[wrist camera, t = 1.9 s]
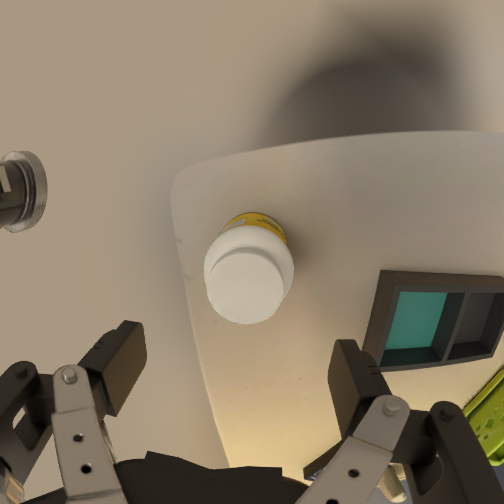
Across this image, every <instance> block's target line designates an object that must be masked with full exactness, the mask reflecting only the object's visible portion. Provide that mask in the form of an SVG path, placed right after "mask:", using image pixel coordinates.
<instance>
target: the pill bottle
mask: <svg viewBox="0 0 504 504" xmlns="http://www.w3.org/2000/svg"><path fill="white" fill-rule="evenodd" d="M203 271H204V279H205V282H206V285H207V295H208V298H209V301H210V303H211V305H212V306H213V308H214V309H215V310H216V312H217V313H219V314H220V315H221V316H222V317H224V318H225V319H227V320H229V321H231V322H234V323H239V324H255V323H259V322H261V321H264V320H266V319H267V318H269V317H270V316H272V315H273V314H274V313H275V312H276V310H277V309H278V308H279V306H280V305H281V302H282V300H283V299H284V297H285V296H286V295H287V293H288V292H289V290H290V287H291V285H292V282H293V277H294V264H293V259H292V256H291V253H290V250H289V247H288V243H287V240H286V237H285V234H284V232H283V230H282V228H281V227H280V225H279V224H278V223H277V222H276V221H275V220H273V219H272V218H270V217H269V216H267V215H264V214H261V213H254V212H252V213H244V214H241V215H239V216H236V217H235V218H233V219H232V220H231V221H229V222H228V223H227V224H226V226H225V227H224V228H223V230H222V231H221V232H220V234H219V235H218V236H217V237H216V239H215V240H214V241H213V243H212V244H211V246H210V247H209V249H208V251H207V253H206V256H205V260H204V268H203Z"/></svg>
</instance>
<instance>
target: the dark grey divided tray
mask: <svg viewBox="0 0 504 504" xmlns="http://www.w3.org/2000/svg"><path fill="white" fill-rule="evenodd" d="M503 330H504V278H503V277H501V276H488V275H466V274H445V273H425V272H406V271H388V270H380V275H379V280H378V285H377V290H376V295H375V299H374V304H373V308H372V312H371V316H370V320H369V324H368V328H367V332H366V336H365V340H364V344H363V347H362V351H366V352H368V353H369V354H370V355H371V356H372V357H373V358H374V359H375V361H376V363H377V365H378V367H379V369H380V371H381V372H391V371H403V370H413V369H422V368H431V367H438V366H445V365H452V364H458V363H464V362H470V361H476V360H481V359H486V358H491V357H493V355H494V352H495V350H496V348H497V345H498V343H499V340H500V338H501V336H502V333H503Z"/></svg>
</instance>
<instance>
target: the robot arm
mask: <svg viewBox="0 0 504 504" xmlns="http://www.w3.org/2000/svg"><path fill="white" fill-rule="evenodd" d="M30 194H31V191H30V181H29V177H28V174H27V171H26V169H25V168H24V166H23V165H22V164H21V163H20V162H18V161H16V160H8V161H2V162H0V228H3V227H6V226H9V225H15V224H18V223H20V222H21V221H22V220H23V219H24V217H25V215H26V213H27V211H28V208H29V203H30ZM146 360H147V351H146V344H145V336H144V329H143V325H142V323H140V322H133V321H127V320H124V321H123V322H122V323H121V324H120V326H119V327H118V328H117V329H116V330H114V329H113V330H111V331H109V332H107V333H105V334H104V335H103V336H102V337H101V338H100V339H99V340H98V342H96V343H95V345H94V346H93V348H91V349H90V350H89V351H88V353H87V354H86V355H85V356H84V357H83V358H82V359H81V361H80V362H79V363H78V364H77V365H66V366H63V367H61V368H59V369H58V370H57V371H55V373H54V374H53V375H49V374H38V371H37V369H36V366H35V365H34V364H33V363H31V362H28V361H20V362H17V363H15V364H13V365H11V366H10V367H9V368H8V369H7V370H6V371H5V372H4V374H3V375H1V377H0V504H367V502H368V500H369V498H370V497H371V495H372V494H373V492H374V490H375V489H376V487H377V485H378V483H379V482H380V480H381V478H382V476H383V474H384V472H385V470H386V468H387V467H388V465H389V463H401V464H402V465H403V468H404V472H405V475H406V479H407V482H408V486H409V490H410V493H411V498H412V501H413V504H504V492H503V490H502V487H501V485H500V483H499V481H498V479H497V476H496V474H495V472H494V470H493V468H492V466H491V464H490V462H489V460H488V458H487V456H486V454H485V452H484V450H483V448H482V446H481V444H480V442H479V440H478V438H477V436H476V435H475V433H474V431H473V429H472V427H471V426H470V424H469V422H468V420H467V418H466V417H465V415H464V413H463V411H462V410H461V408H460V407H459V406H457V405H456V404H454V403H452V402H448V401H440V402H437V403H435V404H434V405H433V406H432V408H431V409H430V411H420V410H412V409H410V408H409V405H408V404H407V402H406V401H404V400H403V399H402V398H400V397H397V396H394V395H392V393H391V391H390V389H389V387H388V385H387V383H386V381H385V379H384V377H383V375H382V374H381V371H380V369H379V367H378V365H377V363H376V361H375V359H374V358H373V357H372V356H371V355H370V354H369V353H368V352H366V351H360V349H359V347H358V345H357V343H356V341H355V340H354V339H337V340H336V341H335V344H334V348H333V353H332V357H331V361H330V365H329V369H328V384H329V388H330V392H331V396H332V400H333V404H334V408H335V412H336V416H337V421H338V425H339V429H340V433H341V437H342V441H345V442H344V443H343V445H342V446H341V447H340V449H339V450H338V451H337V453H336V454H335V455H334V457H333V458H332V459H331V461H330V462H329V463H328V465H327V466H326V467H325V468H324V470H323V471H322V472H321V473H320V475H319V476H318V477H317V478H316V480H315V481H314V482H313V483H312V484H311V485H310V486H308V485H306V484H304V483H302V482H300V481H297V480H295V479H292V478H288V477H284V476H282V467H254V466H245V467H237V468H227V469H214V470H213V469H208V468H205V467H203V466H200V465H197V464H194V463H192V462H189V461H187V460H184V459H182V458H179V457H174V456H169V455H164V454H160V453H155V452H151V451H147V454H146V456H145V459H132V460H125V461H121V462H119V461H118V459H117V456H116V454H115V451H114V449H113V446H112V443H111V441H110V438H109V435H108V432H107V429H106V426H105V423H104V420H103V419H104V417H105V415H106V414H107V415H111V416H114V417H116V416H117V415H118V413H119V411H120V409H121V407H122V406H123V404H124V402H125V400H126V399H127V397H128V395H129V393H130V391H131V390H132V388H133V386H134V384H135V382H136V381H137V379H138V377H139V376H140V374H141V372H142V370H143V369H144V367H145V364H146ZM21 408H23V409H24V411H25V415H24V416H23V417H22V419H21V420H20V421H19V423H18V424H17V426H16V427H15V428H14V429H13V420H14V417H15V416H16V414H17V413H18V412H19V411H20V409H21ZM52 433H53V434H54V441H55V447H56V452H57V458H58V463H59V468H60V472H61V477H62V481H63V485H64V487H62V488H60V489H57V490H55V491H52V492H50V493H47V494H44V495H42V496H39V497H36V498H33V499H30V500H28V501H25V499H24V489H23V485H24V483H25V481H26V479H27V478H28V476H29V474H30V472H31V470H32V468H33V467H34V465H35V463H36V461H37V459H38V458H39V456H40V454H41V452H42V450H43V449H44V447H45V445H46V444H47V442H48V440H49V439H50V437H51V435H52Z"/></svg>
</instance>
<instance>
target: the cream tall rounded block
mask: <svg viewBox="0 0 504 504" xmlns="http://www.w3.org/2000/svg"><path fill="white" fill-rule="evenodd" d="M378 487H379V488H380V489H381V490H382V492H383V493H384V495H385V496H386V497H387V498H388V499H389V500H390V501H392V502H395V503H396V502H397V503H399V502H403V501H404V500H405V499H406V497H407V495H406V492H405V490H404V489H403V487H402V485H401V483H400V481H399V479H398V477H397V475H396V473H395V471H394V470H393V469H392V467H391V466H388V467H387V468H386V470H385V472H384V474H383V476H382V478H381V480H380V482H379V483H378Z"/></svg>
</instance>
